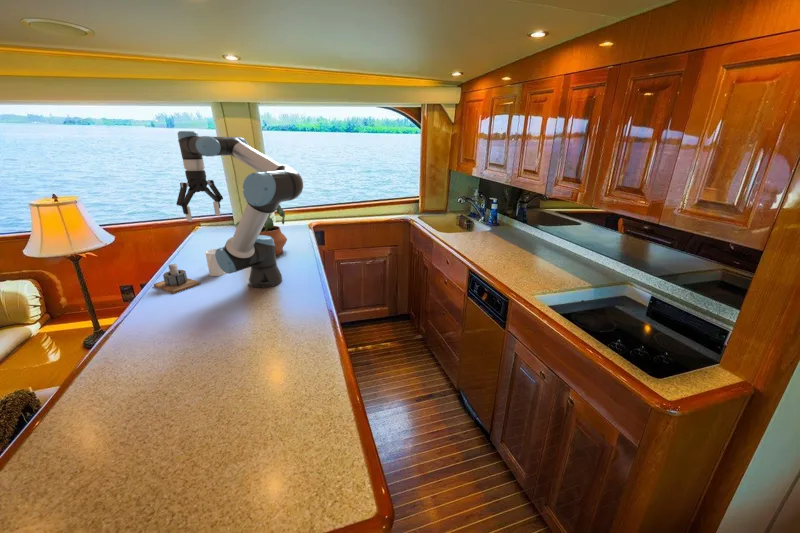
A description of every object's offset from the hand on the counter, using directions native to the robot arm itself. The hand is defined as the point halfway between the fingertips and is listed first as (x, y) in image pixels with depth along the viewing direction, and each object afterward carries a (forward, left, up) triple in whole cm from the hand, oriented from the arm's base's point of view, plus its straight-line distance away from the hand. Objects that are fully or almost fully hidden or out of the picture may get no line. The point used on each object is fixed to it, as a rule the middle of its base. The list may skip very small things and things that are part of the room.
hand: (204, 218), depth 151 cm
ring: (+12, +12, -30) cm, 35 cm away
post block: (+12, +12, -31) cm, 36 cm away
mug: (+9, -6, -32) cm, 34 cm away
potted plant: (+15, -42, -32) cm, 55 cm away
